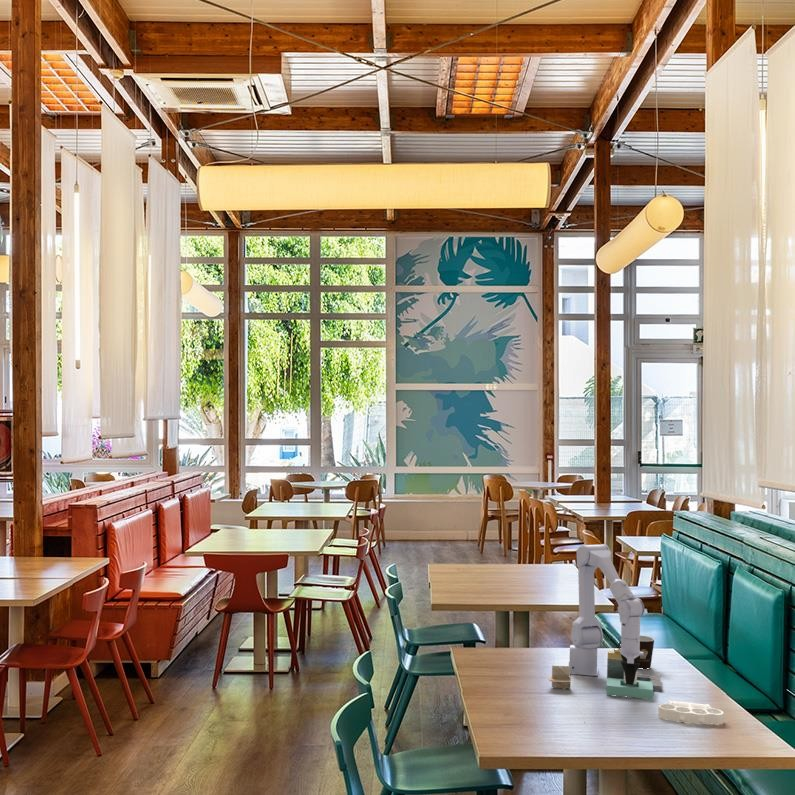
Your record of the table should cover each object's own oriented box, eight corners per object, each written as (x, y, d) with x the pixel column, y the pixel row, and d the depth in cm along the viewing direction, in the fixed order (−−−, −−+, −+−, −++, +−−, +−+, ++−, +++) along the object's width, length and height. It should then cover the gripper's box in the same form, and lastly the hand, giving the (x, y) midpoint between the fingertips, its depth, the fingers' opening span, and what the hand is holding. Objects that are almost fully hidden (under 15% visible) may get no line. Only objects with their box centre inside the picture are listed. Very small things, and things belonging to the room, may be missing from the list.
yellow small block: (607, 658, 293) (607, 649, 293) (607, 656, 296) (607, 647, 296) (626, 660, 292) (626, 651, 292) (626, 658, 294) (626, 649, 294)
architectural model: (571, 692, 282) (571, 669, 282) (549, 692, 282) (549, 668, 283) (569, 689, 285) (570, 666, 286) (547, 688, 286) (548, 665, 286)
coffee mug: (656, 666, 314) (657, 637, 314) (649, 671, 306) (650, 642, 307) (624, 660, 320) (624, 632, 320) (616, 666, 313) (617, 637, 313)
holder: (606, 695, 279) (606, 685, 279) (606, 687, 287) (607, 677, 288) (653, 699, 275) (653, 689, 275) (651, 691, 284) (652, 681, 284)
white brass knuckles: (720, 714, 264) (725, 730, 250) (657, 708, 269) (659, 723, 255) (720, 702, 264) (726, 718, 250) (657, 696, 269) (659, 711, 255)
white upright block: (623, 694, 280) (624, 672, 280) (623, 691, 284) (623, 668, 284) (636, 695, 279) (637, 673, 279) (636, 692, 283) (636, 669, 283)
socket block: (606, 686, 288) (607, 663, 289) (607, 676, 300) (607, 654, 300) (661, 691, 284) (661, 668, 285) (659, 680, 296) (660, 658, 296)
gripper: (644, 644, 274) (643, 688, 274) (642, 633, 288) (642, 675, 288) (620, 642, 276) (619, 686, 275) (620, 631, 290) (619, 673, 289)
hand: (629, 680), depth 282 cm, fingers open, 7 cm apart
